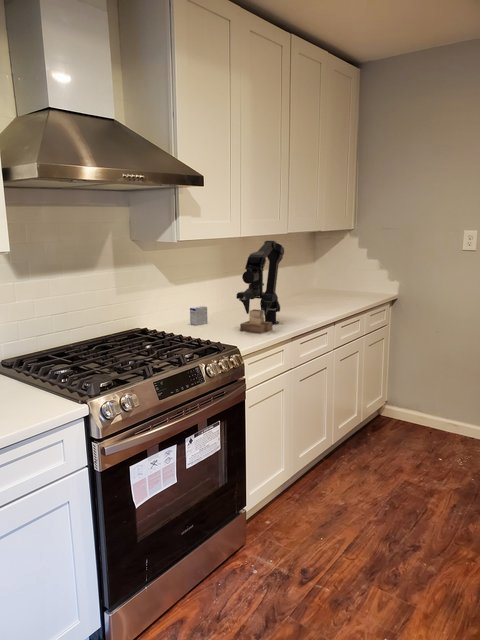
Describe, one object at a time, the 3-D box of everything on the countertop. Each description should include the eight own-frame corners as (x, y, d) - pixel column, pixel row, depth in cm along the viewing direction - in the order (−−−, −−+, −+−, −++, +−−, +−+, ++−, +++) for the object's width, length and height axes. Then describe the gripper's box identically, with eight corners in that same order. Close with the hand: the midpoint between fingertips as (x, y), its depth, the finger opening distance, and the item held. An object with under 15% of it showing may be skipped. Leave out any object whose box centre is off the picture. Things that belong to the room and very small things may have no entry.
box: (201, 322, 260) (201, 305, 258) (207, 323, 257) (207, 306, 255) (189, 324, 254) (189, 307, 253) (195, 325, 251) (195, 308, 250)
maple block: (254, 321, 243) (254, 309, 242) (263, 322, 241) (263, 310, 240) (249, 323, 239) (249, 310, 238) (259, 324, 237) (259, 311, 236)
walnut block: (252, 328, 248) (252, 319, 248) (272, 330, 243) (272, 322, 242) (240, 332, 239) (240, 323, 239) (260, 334, 234) (260, 326, 233)
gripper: (230, 282, 234) (230, 315, 237) (266, 284, 225) (266, 319, 228) (242, 279, 244) (242, 312, 247) (277, 282, 235) (277, 315, 238)
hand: (256, 314), depth 239 cm, fingers open, 9 cm apart
